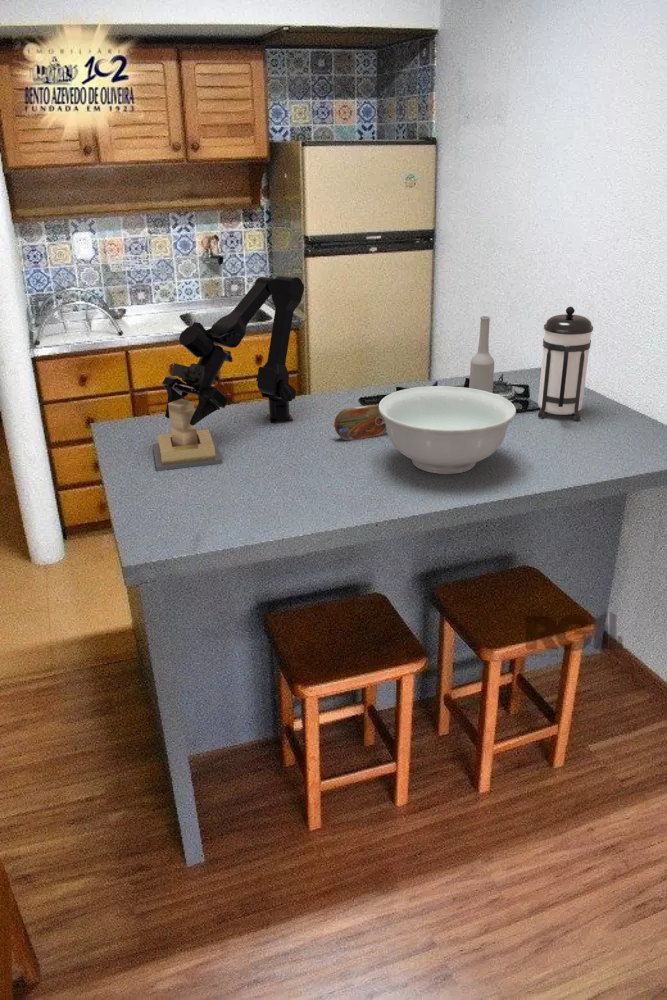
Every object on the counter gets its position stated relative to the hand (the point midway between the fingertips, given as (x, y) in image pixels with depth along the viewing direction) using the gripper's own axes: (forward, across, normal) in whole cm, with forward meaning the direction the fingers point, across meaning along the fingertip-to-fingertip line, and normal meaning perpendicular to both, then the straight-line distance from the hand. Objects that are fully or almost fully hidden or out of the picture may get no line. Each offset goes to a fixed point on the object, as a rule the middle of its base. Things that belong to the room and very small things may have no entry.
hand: (178, 421), depth 192 cm
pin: (+5, 0, +7) cm, 9 cm away
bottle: (-43, +44, +57) cm, 84 cm away
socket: (+6, 0, +8) cm, 10 cm away
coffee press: (-53, +62, +67) cm, 106 cm away
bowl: (-19, +54, +33) cm, 66 cm away
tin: (-20, +28, +34) cm, 48 cm away
